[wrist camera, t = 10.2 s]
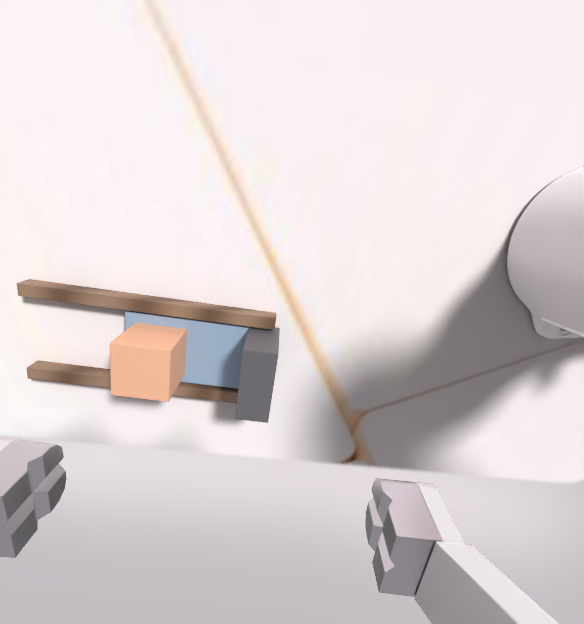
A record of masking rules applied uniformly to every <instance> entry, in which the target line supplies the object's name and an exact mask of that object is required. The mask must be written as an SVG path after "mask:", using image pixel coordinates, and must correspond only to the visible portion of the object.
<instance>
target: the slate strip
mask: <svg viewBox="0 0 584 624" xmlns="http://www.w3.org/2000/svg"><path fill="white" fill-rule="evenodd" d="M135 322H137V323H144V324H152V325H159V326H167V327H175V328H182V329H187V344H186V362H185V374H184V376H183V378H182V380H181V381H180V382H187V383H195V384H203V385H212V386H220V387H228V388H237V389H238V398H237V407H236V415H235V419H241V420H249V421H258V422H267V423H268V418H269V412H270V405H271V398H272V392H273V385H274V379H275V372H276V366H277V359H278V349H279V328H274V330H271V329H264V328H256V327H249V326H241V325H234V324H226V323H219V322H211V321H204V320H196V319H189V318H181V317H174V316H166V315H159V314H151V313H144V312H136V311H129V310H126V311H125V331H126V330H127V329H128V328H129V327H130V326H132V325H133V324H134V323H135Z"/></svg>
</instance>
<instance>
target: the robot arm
mask: <svg viewBox="0 0 584 624" xmlns="http://www.w3.org/2000/svg"><path fill="white" fill-rule="evenodd" d="M507 269H508V276H509V280H510V283H511V285H512V288H513V290H514V292H515V293H516V295H517V296H518V297H519V299H520V300H521V301H522V302H523V303H524V304H525V305H526V306H527V308H528V309H529V310H530V312H531V315H532V320H533V324H534V327H535V330H536V332H537V333H538V334H539V335H541V336H543V337H546V338H549V339H560V338H580V337H584V166H582V167H580V168H578V169H575V170H573V171H571V172H569V173H567V174H565V175H563V176H561V177H560V178H558V179H556V180H555V181H554V182H552V183H551V184H549V185H548V186H547V187H546V188H544V189H543V190H542V191H541V192H540V193H539V194H538V195H537V196H536V197H535V198H534V199H533V200H532V201H531V203H530V204H529V205H528V206H527V208H526V209H525V211H524V212H523V214H522V215H521V217H520V219H519V220H518V222H517V224H516V226H515V229H514V231H513V234H512V236H511V240H510V243H509V248H508V255H507ZM62 458H63V452H62V447H61V446H58V445H54V444H47V443H39V442H32V441H24V440H13V439H6V438H0V557H14V558H15V557H16V556H17V555H18V553H19V552H20V551H21V550H22V548H23V547H24V546H25V544H26V543H27V542H28V541H29V539H30V538H31V537H32V535H33V534H34V533H35V532H36V530H37V522H38V519H40V518H42V517H43V516H45V515H46V514H48V513H50V512H51V511H52V510H53V508H54V507H55V506H56V504H57V503H58V502H59V500H60V498H61V495H62V493H63V491H64V489H65V482H66V472H65V470H64V469H63V468H62V467H61V466H60V465H59V464H58V463H59V462H60V461H61V460H62ZM372 493H373V497H374V498H373V499H372V500H371V501H370V502H368V506H367V511H366V533H367V538H368V543H369V545H370V546H371V547H372V548H373V550H374V551H375V555H374V558H373V567H374V571H375V576H376V581H377V585H378V590H379V592H382V593H390V594H398V595H405V596H413V597H415V600H416V601H417V603H418V604H419V606H420V607H421V608H422V610H423V611H424V613H425V614H426V616H427V617H428V619H429V620H430V621H431V623H432V624H558V623H557V622H556V621H555V620H554V619H553V618H551V617H550V616H549V615H548V614H547V613H546V612H545V611H544V610H543V609H541V608H540V607H539V606H538V605H537V604H536V603H535V602H534V601H533V600H532V599H530V598H529V597H528V596H527V595H526V594H525V593H524V592H523V591H522V590H520V589H519V588H518V587H517V586H516V585H515V584H514V583H513V582H512V581H510V580H509V579H508V578H507V577H506V576H505V575H504V574H503V573H502V572H501V571H499V570H498V569H497V568H496V567H495V566H494V565H493V564H492V563H491V562H489V561H488V560H487V559H486V558H485V557H484V556H483V555H482V554H481V553H480V552H478V551H477V550H476V549H475V548H474V547H473V546H472V545H467V544H465V543H464V541H463V539H462V537H461V535H460V533H459V531H458V529H457V527H456V525H455V523H454V521H453V519H452V517H451V515H450V513H449V511H448V509H447V507H446V505H445V503H444V501H443V499H442V497H441V495H440V493H439V491H438V489H437V487H436V486H435V485H434V484H430V483H419V482H408V481H398V480H387V479H376V480H375V481H374V484H373V487H372Z"/></svg>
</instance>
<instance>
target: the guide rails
mask: <svg viewBox="0 0 584 624" xmlns="http://www.w3.org/2000/svg"><path fill="white" fill-rule="evenodd" d="M17 288H18V296H24V297H31V298H39V299H46V300H54V301H61V302H69V303H76V304H84V305H91V306H99V307H106V308H114V309H121V310H129V311H136V312H144V313H151V314H159V315H166V316H174V317H181V318H189V319H196V320H204V321H211V322H219V323H226V324H234V325H241V326H249V327H256V328H264V329H271V330H274V328H275V321H276V313H272V312H265V311H257V310H250V309H243V308H235V307H228V306H221V305H213V304H206V303H199V302H191V301H184V300H177V299H170V298H162V297H155V296H148V295H140V294H133V293H126V292H118V291H111V290H104V289H97V288H89V287H82V286H75V285H67V284H60V283H53V282H45V281H38V280H31V279H29V280H26V281H23V282H20V283H17ZM27 375H28V378H29V379H37V380H45V381H54V382H62V383H71V384H79V385H88V386H96V387H105V388H111V370H110V369H103V368H94V367H86V366H78V365H70V364H62V363H53V362H45V361H37V362H35V363H34V364H32V365H30V366H29V367H27ZM172 396H181V397H189V398H198V399H206V400H215V401H223V402H232V403H237V398H238V389H237V388H228V387H220V386H212V385H203V384H195V383H187V382H180V383H179V385H178V387H177V388H176V390H175V392H174V393H173V395H172Z"/></svg>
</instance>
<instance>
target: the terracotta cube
mask: <svg viewBox="0 0 584 624" xmlns="http://www.w3.org/2000/svg"><path fill="white" fill-rule="evenodd" d="M186 344H187V329H182V328H175V327H167V326H159V325H152V324H144V323H137V322H135V323H134V324H133V325H132V326H130V327H129V328H128V329H127V330H126V331H124V332H123V333H122V334H121V335H119V336H118V337H117V338H116V339H115V340H113V341H112V342H111V343H110V370H111V395H115V396H124V397H133V398H141V399H150V400H158V401H167V402H169V400H170V399H171V397H172V395H173V393H174V392H175V390H176V388H177V387H178V385H179V383H180V381H181V380H182V378H183V376H184V374H185V362H186Z"/></svg>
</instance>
